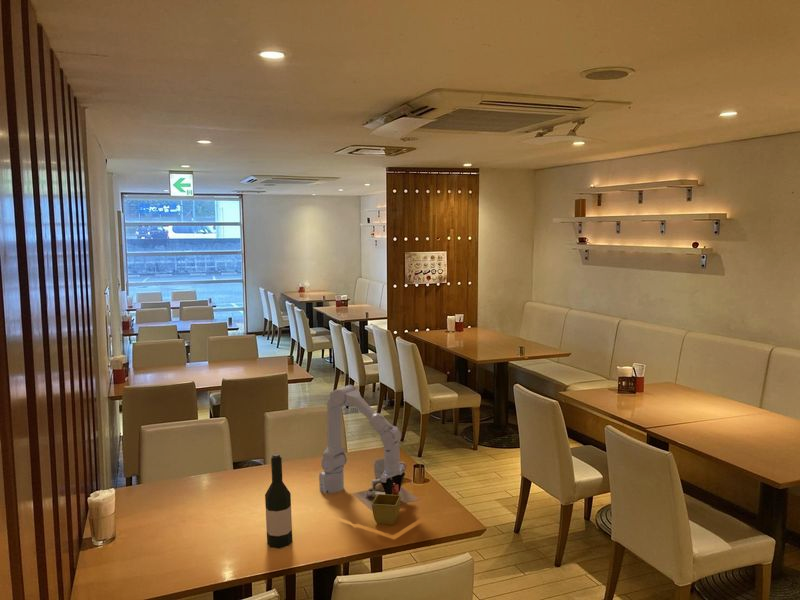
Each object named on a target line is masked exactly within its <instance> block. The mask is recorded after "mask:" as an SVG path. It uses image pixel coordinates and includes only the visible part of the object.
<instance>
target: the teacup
mask: <svg viewBox="0 0 800 600" xmlns="http://www.w3.org/2000/svg"><path fill="white" fill-rule="evenodd" d="M400 465H404V470H403V471H402V472H404V473H405V471H406V470H407V467H408V465H407V463H406V461H405V462H404V461H400ZM373 471H374V472H373V473H374V477H375V479H380V477H381V476H382V475H383V473H384V471H385V458H383V457H382V458H379V459H375V460H374V461H373ZM390 479H391V480H392V477H391V478H390ZM392 481H393V480H392Z"/></svg>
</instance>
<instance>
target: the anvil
mask: <svg viewBox="0 0 800 600" xmlns="http://www.w3.org/2000/svg"><path fill="white" fill-rule="evenodd" d="M378 483H380V479H377V478H372V479H371V488H372V489H374V490H375V486H376V485H377V484H378ZM375 491H376V490H375Z"/></svg>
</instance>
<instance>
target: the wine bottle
mask: <svg viewBox="0 0 800 600" xmlns="http://www.w3.org/2000/svg"><path fill="white" fill-rule="evenodd" d="M282 458H283V457H282V456H281V454H280V453H273V454H272V455H271V457H270V463H271V465H270V466H271V484H270V485H269V487H268V489H267V490H266V493H265V494H264V499H265V501H264V502H265V520H266V521H265V523H266V524H265V525H266V527H265V528H266V541H267V542H266V544H267V545H268V547H269V548H270V549H282V548H287V547H289V546H290V545H291V544H292V543H293V521H292V520H293V519H292V495H291V491H289V489H288V488H287V486H286V485H285V483H284V482H283V461H282Z"/></svg>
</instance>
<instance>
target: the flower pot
mask: <svg viewBox="0 0 800 600" xmlns="http://www.w3.org/2000/svg"><path fill="white" fill-rule="evenodd" d="M400 500H401V496H400V495H387V494H377V496H376V497H375V499H374V501H373V502H372V510H373V511H372V510H371V511H372V515H373V519H374V521H375V524H377V525H388V526H389V525H390V526H393V525H395V522H396V521H397V518H398V517H399V513H400V509H401V504H400Z"/></svg>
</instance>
